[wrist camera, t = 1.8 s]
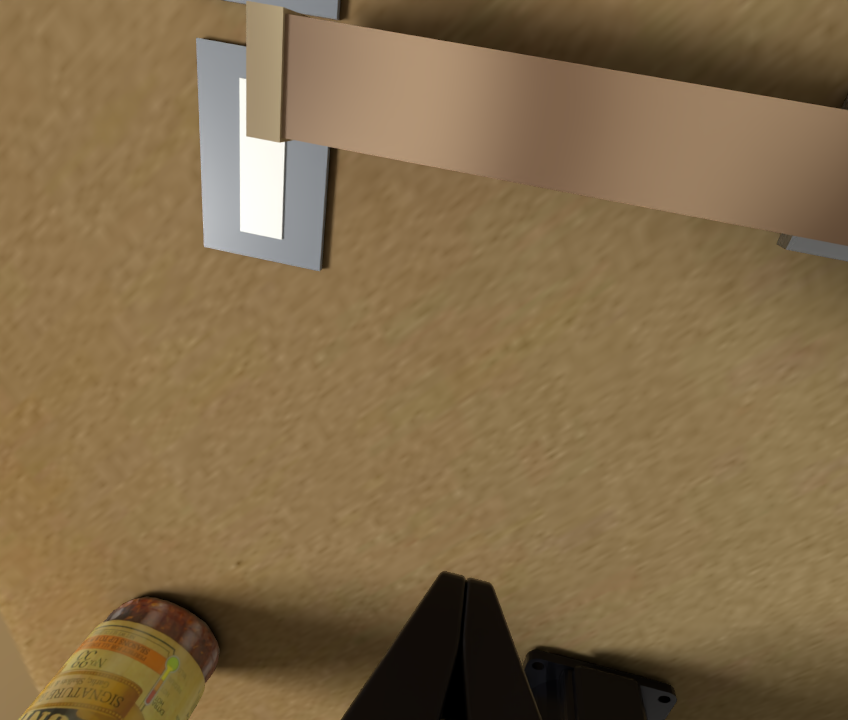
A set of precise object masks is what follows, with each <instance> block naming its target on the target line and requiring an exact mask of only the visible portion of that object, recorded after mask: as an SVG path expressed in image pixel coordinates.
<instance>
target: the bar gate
mask: <svg viewBox="0 0 848 720" xmlns="http://www.w3.org/2000/svg"><path fill="white" fill-rule="evenodd" d="M246 136H247V137H252V138H258V139H263V140H268V141H273V142H278V143H281V142H287V141H292V140H296V141H301V142H306V143H312V144H317V145H322V146H327V147H333V148H338V149H343V150H348V151H354V152H359V153H364V154H369V155H374V156H380V157H385V158H390V159H395V160H401V161H406V162H411V163H416V164H421V165H427V166H432V167H437V168H442V169H448V170H453V171H458V172H463V173H468V174H474V175H479V176H484V177H489V178H495V179H500V180H505V181H510V182H515V183H521V184H526V185H531V186H536V187H542V188H547V189H552V190H557V191H562V192H568V193H573V194H578V195H583V196H589V197H594V198H599V199H604V200H610V201H615V202H620V203H625V204H630V205H636V206H641V207H646V208H651V209H657V210H662V211H667V212H672V213H677V214H683V215H688V216H693V217H698V218H704V219H709V220H714V221H719V222H724V223H730V224H735V225H740V226H745V227H751V228H756V229H761V230H766V231H771V232H777V233H782V234H787V235H792V236H798V237H803V238H808V239H813V240H818V241H824V242H829V243H834V244H839V245H845V246H848V110H844V109H838V108H832V107H827V106H821V105H815V104H809V103H803V102H797V101H792V100H786V99H780V98H774V97H768V96H762V95H757V94H751V93H745V92H739V91H733V90H728V89H722V88H716V87H710V86H704V85H698V84H693V83H687V82H681V81H675V80H669V79H663V78H658V77H652V76H646V75H640V74H634V73H628V72H623V71H617V70H611V69H605V68H599V67H594V66H588V65H582V64H576V63H570V62H564V61H559V60H553V59H547V58H541V57H535V56H529V55H524V54H518V53H512V52H506V51H500V50H495V49H489V48H483V47H477V46H471V45H465V44H460V43H454V42H448V41H442V40H436V39H430V38H425V37H419V36H413V35H407V34H401V33H395V32H390V31H384V30H378V29H372V28H366V27H361V26H355V25H349V24H343V23H337V22H331V21H326V20H320V19H314V18H310V17H308V16H305V15H303V14H300V13H297V12H295V11H292V10H290V9H287V8H284V7H280V6H274V5H268V4H262V3H257V2H251V1H246Z"/></svg>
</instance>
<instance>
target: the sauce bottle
mask: <svg viewBox="0 0 848 720" xmlns="http://www.w3.org/2000/svg"><path fill="white" fill-rule="evenodd" d="M219 652H220V650H219V647H218V642H217V640H216V638H215V637H214V635H213V633H212V631H211V630H210V628H209V627H208V625H207V624H206V623H205V622H204V621H203V620H201V619H200V618H198V617H196V615H194V614H192V613H191V612H189V611H188V610H187V609H185V608H183V607H180V606H178V605H176V604H174V603H172V602H169V601H167V600H161V599H158V598H151V597H148V596H147V597H142V598H136V599H133V600H130V601H128V602H126V603H123V604H122V605H121V606H120V607H119V608H117V609H116V610H114V611H113V612H112V613H111V614H110V615H109V616H108V618H107V619H106V620H105V621H104V622H103V623H101V624H99V625H98V626H97V627H96V628H95V629H94V630H93V631H92V633H91V634H90V635H89V636H88V637H87V638H86V640H85V641H84V642H83V643H82V644H81V646H80V647H79V648H78V649H77V650H76V651H75V653H74V654H73V655H72V656H71V657H70V658H69V660H68V661H67V662H66V663H65V664H64V666H63V667H62V668H61V669H60V670H59V672H58V673H57V674H56V675H55V676H54V678H53V679H52V680H51V681H50V682H49V684H48V685H47V686H46V687H45V688H44V690H43V691H42V692H41V693H40V694H39V696H38V697H37V698H36V699H35V700H34V701H33V703H32V704H31V705H30V706H29V708H28V709H27V710H26V711H25V712H24V714H23V715H22V716H21V717H20V718H19V719H18V720H188V719H189V718H190V716H191V714H192V712H193V711H194V709H195V707H196V706H197V704H198V702H199V700H200V699H201V697H202V695H203V692H204V689H205V683H206V681H207V680H208V679H209V678H210V676H211V675H212V673H213V672H214V670H215V667H216V665H217V663H218V659H219Z"/></svg>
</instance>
